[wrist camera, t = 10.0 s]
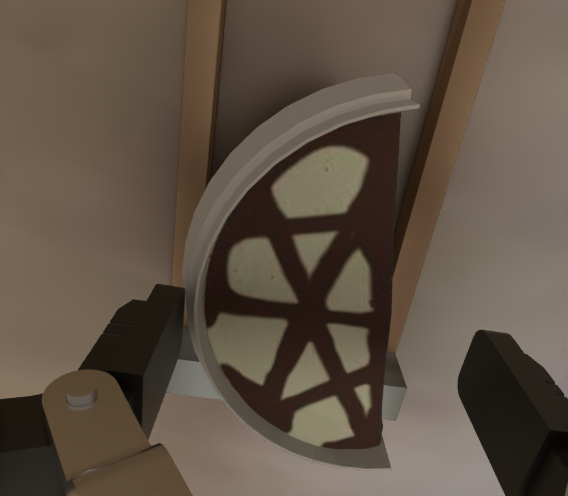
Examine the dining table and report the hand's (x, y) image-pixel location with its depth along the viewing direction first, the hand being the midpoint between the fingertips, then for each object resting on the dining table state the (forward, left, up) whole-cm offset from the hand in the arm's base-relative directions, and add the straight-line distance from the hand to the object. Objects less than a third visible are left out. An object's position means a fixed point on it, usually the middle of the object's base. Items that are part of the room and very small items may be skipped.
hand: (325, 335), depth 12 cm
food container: (+2, 0, -10) cm, 10 cm away
